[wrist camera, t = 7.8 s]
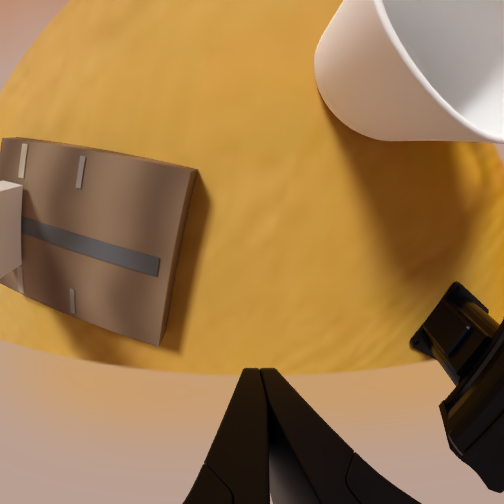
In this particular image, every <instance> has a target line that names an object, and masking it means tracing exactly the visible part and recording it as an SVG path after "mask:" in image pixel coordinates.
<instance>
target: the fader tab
mask: <svg viewBox="0 0 504 504" xmlns="http://www.w3.org/2000/svg"><path fill="white" fill-rule="evenodd" d="M22 192H23V185H20V184H16V183H12V182H8V181H4V180H3V181H0V278H1V277H3V276H5V275H6V274H8V273H9V272H11V271H12V270H14V269H16V268H17V267H19V266H20V265H22V259H21V209H22Z"/></svg>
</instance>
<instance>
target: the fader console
mask: <svg viewBox="0 0 504 504" xmlns="http://www.w3.org/2000/svg"><path fill="white" fill-rule="evenodd" d="M197 171H198V169H193V168H189V167H185V166H181V165H176V164H172V163H167V162H163V161H158V160H153V159H148V158H144V157H139V156H134V155H129V154H123V153H118V152H113V151H107V150H102V149H96V148H90V147H84V146H78V145H72V144H65V143H58V142H51V141H44V140H36V139H28V138H20V137H16V138H2V143H1V151H0V181H3V180H4V181H8V182H12V183H16V184H20V185H23V192H22V209H21V259H22V265H20V266H19V267H17V268H16V269H14V270H12V271H11V272H9V273H8V274H6V275H5V276H3V277H1V278H0V283H1V284H3V285H5V286H7V287H9V288H11V289H13V290H15V291H17V292H19V293H21V294H23V295H25V296H27V297H29V298H31V299H34V300H36V301H38V302H40V303H42V304H45V305H47V306H49V307H51V308H54V309H56V310H58V311H61V312H63V313H66V314H68V315H70V316H73V317H75V318H78V319H80V320H83V321H85V322H88V323H91V324H93V325H96V326H99V327H101V328H104V329H107V330H110V331H112V332H115V333H118V334H121V335H124V336H127V337H130V338H133V339H136V340H139V341H142V342H145V343H148V344H152V345H155V346H158V347H159V345H160V342H161V340H162V338H163V336H164V334H165V332H166V326H167V319H168V313H169V307H170V301H171V295H172V289H173V283H174V278H175V272H176V267H177V262H178V256H179V251H180V246H181V241H182V237H183V232H184V227H185V222H186V218H187V213H188V209H189V204H190V200H191V196H192V191H193V187H194V183H195V179H196V175H197Z"/></svg>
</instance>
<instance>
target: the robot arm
mask: <svg viewBox="0 0 504 504" xmlns="http://www.w3.org/2000/svg"><path fill="white" fill-rule="evenodd" d="M456 287H457V288H456ZM488 312H489V310H488V309H487V308H486V307H485V306H484V305H483V304H482V303H481V302H480V301H479V300H478V299H477V298H476V297H474V296H473V295H472V294H471V293H470V292H469V291H468V290H467V289H466V288H465V287H464V286H463V285H461V284H460V283H459V282H457V281H456V282H454V283H453V284H452V285H451V287H450V288H449V289H448V291H447V292H446V294H445V295H444V297H443V298H442V299H441V301H440V302H439V304H438V305H437V306H436V308H435V309H434V310H433V312H432V313H431V314H430V316H429V317H428V318H427V320H426V321H425V322H424V323H423V325H422V326H421V327H420V328H419V330H418V331H417V332H416V333H415V335H414V336H413V337H412V338H411V340H410V344H411V345H412V347H414V348H416V349H417V350H419V351H421V352H423V353H425V354H427V355H428V356H430V357H432V358H434V359H436V360H438V362H439V363H440V364H441V365H442V367H443V368H444V370H445V371H446V373H447V374H448V375H449V377H450V378H451V380H452V381H453V383H454V384H455V385H456V388H455V389H454V390H453V391H452V392H451V394H450V395H449V396H448V397H447V398H446V399H445V400H443V401H442V403H441V404H440V405H439V408H440V412H441V415H442V419H443V423H444V427H445V431H446V436H447V440H448V443H449V447H450V449H451V450H452V451H453V452H454V453H455V455H456V456H457V457H458V458H459V459H461V460H462V461H463V462H464V463H466V464H467V465H469V466H470V467H471V468H472V469H473V470H474V471H475V472H476V473H477V474H478V475H479V476H480V478H481V479H482V480H483V482H484V483H485V484H486V486H487V487H488V489H490V490H492V491H495V492H498V493H502V492H503V491H504V319H503V321H502V323H501V324H500V325H499V324H498V323H497V322H496V321H495V320H494V319H493V318H492V317H490V316H489V315H488ZM503 318H504V317H503ZM415 341H416V342H415ZM270 493H271V497H272V501H273V504H421V503H420V502H418V501H416V500H415V499H413V498H412V497H411V496H409V495H408V494H406V493H405V492H403V491H402V490H400V489H399V488H397V487H396V486H395V485H393V484H392V483H391V482H389V481H388V480H386V479H385V478H384V477H383V476H381V475H380V474H379V473H378V472H377V471H375V470H374V469H373V468H372V467H371V466H370V465H369V464H368V463H366V462H365V461H364V460H363V459H362V458H361V457H360V456H359V455H358V454H357V453H356V452H355V453H354V450H353V449H352V448H351V447H350V446H349V445H348V444H347V443H346V442H344V440H343V439H342V438H341V437H340V436H339V435H338V434H337V433H336V432H335V431H334V430H333V429H332V428H331V427H330V426H329V425H328V424H327V423H326V422H325V421H324V420H323V419H322V418H321V417H320V416H319V415H318V414H317V413H316V412H315V411H314V410H313V408H312V407H311V406H310V405H309V404H308V403H307V402H306V401H305V400H304V399H303V398H302V397H301V396H300V395H299V394H298V392H297V391H296V390H295V389H294V388H293V387H292V386H291V385H290V384H289V383H288V382H287V381H286V379H285V378H284V377H283V376H282V375H281V374H280V373H279V372H278V371H277V370H276V369H275V368H261V369H260V370H259V369H258V368H244V369H243V371H242V373H241V376H240V378H239V381H238V383H237V386H236V388H235V391H234V393H233V396H232V398H231V400H230V403H229V405H228V408H227V410H226V412H225V415H224V417H223V420H222V422H221V424H220V427H219V429H218V431H217V434H216V436H215V439H214V441H213V443H212V445H211V448H210V450H209V452H208V455H207V457H206V459H205V461H204V464H203V466H202V468H201V470H200V472H199V474H198V477H197V479H196V481H195V483H194V485H193V487H192V488H191V490H190V492H189V494H188V496H187V497H186V499H185V501H184V502H183V504H270Z"/></svg>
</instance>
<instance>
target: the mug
mask: <svg viewBox="0 0 504 504" xmlns="http://www.w3.org/2000/svg"><path fill="white" fill-rule="evenodd" d="M314 75H315V80H316V84H317V87H318V90H319V92H320V94H321V96H322V98H323V100H324V102H325V103H326V105H327V106H328V108H329V109H330V110H331V112H332V113H333V114H334V115H335V116H336V117H337V118H338V119H339V120H340V121H341V122H343V123H344V124H345V125H346V126H348V127H349V128H351V129H352V130H354V131H356V132H358V133H360V134H362V135H364V136H367V137H369V138H373V139H377V140H383V141H465V142H485V143H500V144H504V0H344V1H343V2H342V4H341V5H340V7H339V9H338V10H337V12H336V13H335V15H334V17H333V18H332V20H331V21H330V23H329V25H328V26H327V28H326V30H325V31H324V33H323V35H322V36H321V38H320V41H319V43H318V45H317V48H316V52H315V56H314Z"/></svg>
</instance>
